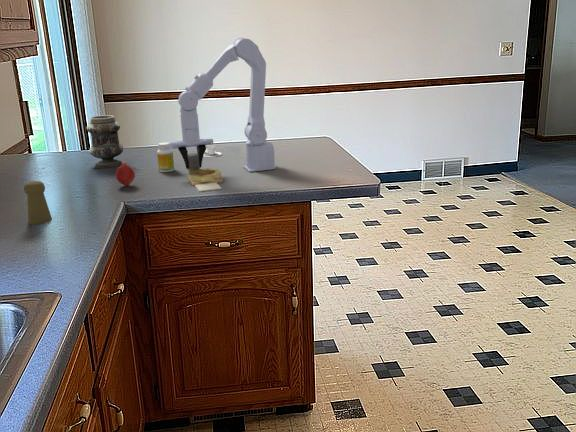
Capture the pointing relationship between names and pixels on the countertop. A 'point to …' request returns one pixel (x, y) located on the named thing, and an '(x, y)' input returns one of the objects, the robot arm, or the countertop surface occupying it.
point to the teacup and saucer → (211, 151)
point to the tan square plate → (205, 182)
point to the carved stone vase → (105, 140)
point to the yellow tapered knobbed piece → (37, 203)
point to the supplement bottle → (165, 157)
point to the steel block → (193, 162)
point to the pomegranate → (125, 174)
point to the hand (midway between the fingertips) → (193, 167)
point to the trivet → (207, 187)
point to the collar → (204, 175)
